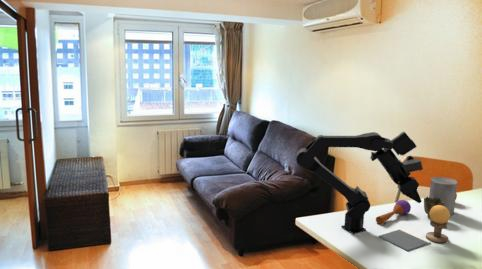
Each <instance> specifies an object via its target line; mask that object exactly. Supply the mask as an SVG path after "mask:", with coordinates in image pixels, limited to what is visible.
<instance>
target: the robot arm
mask: <svg viewBox="0 0 482 269" xmlns="http://www.w3.org/2000/svg"><path fill="white" fill-rule="evenodd" d="M324 148H358V149H362V150H366V151H371V152H370V154H371V155H370V157H369V159H370V160H371V161H372V162H375V161H376V160H377V161H378V162H379V163H380V165H381V166H382V167H383V168H384V170H385V171H386V172H387V174H388V176H389V178H390V179H391V180H392V181H393V183H394V184H395V185H397V189H398V190H399V191H400V192H401V194H402V195H404V196H406V197H408V198H410V199H412V200H413V201H415V202H416V203H417V204H421V203H422V199H421V196H420V194H419V192H418V188H419V186H420V184H419V182H418V180H416V178H415V177H414V176H410V175H411V174H412V173H413V172H417V171H419V172H420V171H423V169H424V167H423V164H422V161H421V159H420V158H417V157H413V156H412V155H408V156H406V158H405V159H404V161H402V160H400V159H399V158H398V157H397V156H402V157H404V156H405V155H407V154H408V153H410V152H411V151H413V150H414V149H416V148H417V144H416V143H415V142H414V140H413V139H411V138H410V136H409V135H408V134H407V133H406V132H405V131H402V132H400V133H399V135H397V136H395V137H393V139H389V138H387V137H383V136H382V135H380V134H379V132H375V131H373V132H364V133H361V134H358V135H323V134H320V135H317V137H316V138H315V139H314V140H312V141H311V142H310V143H308V145H307V146H305V147H302V148H300V149H299V150H298V151H297V153H296V163H297V165H298V166H299V167H301V168H303V169H305V170H306V171H309V172H311V173H314V174H315V175H317V176H318V177H319V178H320V179H321V180H323V181H324V182H325V183H327V184H328V185H329V186H331V188H333V189H335V191H337V192H338V193H339V194H340V195H342V196H343V198H345V200H346V201H347V202H346V203H345V208H346V212H345V214H344V225H343V224H342V225H341V228H342V229H343V230H346V231H347V232H349V233H352V234H357V233H361V232H365V231H366V230H367V229H366V228H365V227H364V219H365V213H367V212H369V210H370V209H371V202H370V200H369V197H368V195H367V193H366V191H364V190H362V189H361V188H360V187H359V186H358V185H356V186H355V188H354V187H352V186H350V185H349V184H347V182H345V181H344V180H342V179H341V178H340V177H339V176H337V175H336V174H335V173H333V172H332V171H331V170H330V169H328V168H327V167H326V166H325V165H323V164H322V163H321V162H320V160H319V159H318V158H317V157H316V156H318V154H319V153H320V152H321V151H322V150H323V149H324ZM394 152H395V153H396V154H395V153H394Z"/></svg>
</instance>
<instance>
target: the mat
mask: <svg viewBox="0 0 482 269" xmlns="http://www.w3.org/2000/svg"><path fill="white" fill-rule="evenodd" d="M378 238H379V239H381V240H383V241H386V242H388V243H389V244H392V245H394V246H396V247H398V248H400V249H402V250H404V251H406V252H409V251H413V250H415V249H419V248H421V247H424V246H426V245H430V244H431V242H432V241H429V240H428V239H426V238H424V237H420V236H418V235H416V234H414V233H412V232H411V231H407V230H405V229H403V228H399V229H397V230H393V231H389V232H388V233H387V232H386V233H384V234H380V235H378Z"/></svg>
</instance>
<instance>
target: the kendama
mask: <svg viewBox="0 0 482 269" xmlns="http://www.w3.org/2000/svg"><path fill="white" fill-rule="evenodd" d="M411 209H412V206H411V204H410V202H409V201H407V200H406V199H399V200H398V201H396V203H395V204H394V206H393V209H392V210H391V211H390V212H387V213H384V214H382V215H378V216H376V217H375V222H376V224H378V225H381V226H382V225H384V224H385V223H386V222H387V221H388V220H389V219H390V218H392V217H393V216H395V215H399V216H400V215H404V216H405V215H407V214H409V213H410V211H411Z"/></svg>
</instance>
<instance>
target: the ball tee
mask: <svg viewBox="0 0 482 269" xmlns="http://www.w3.org/2000/svg"><path fill="white" fill-rule="evenodd" d="M429 220H430V221H429V225H430V226H431V227H432V228H433V231H428V232H426V234H425V239H426V240H428V241H430V242H432V243H435V244H442V245H443V244H448V242H449V236H447V235H446V234H444V233H443V230H444V229H447V228H448V221H447V222H446V223H444V224H438V223H435V222H434V221H432V219H429Z"/></svg>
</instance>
